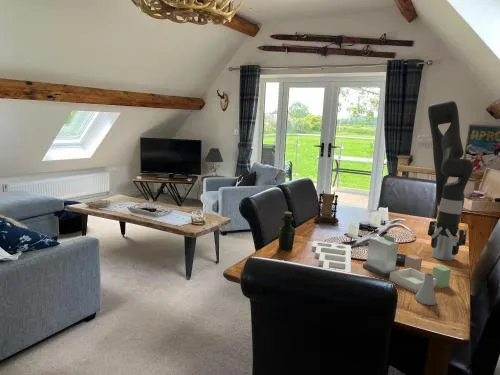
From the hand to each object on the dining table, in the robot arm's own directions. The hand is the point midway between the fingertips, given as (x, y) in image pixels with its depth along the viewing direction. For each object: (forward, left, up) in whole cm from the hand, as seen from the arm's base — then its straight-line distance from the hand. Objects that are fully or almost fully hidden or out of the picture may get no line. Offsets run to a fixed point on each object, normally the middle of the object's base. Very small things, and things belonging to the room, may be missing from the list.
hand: (443, 251), depth 146 cm
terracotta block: (0, -13, -14) cm, 19 cm away
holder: (+26, -35, -15) cm, 46 cm away
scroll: (-17, -89, -14) cm, 92 cm away
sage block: (0, 0, -14) cm, 14 cm away
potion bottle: (+35, -57, -14) cm, 68 cm away
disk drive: (-4, -25, -15) cm, 30 cm away
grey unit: (+11, -19, -14) cm, 26 cm away
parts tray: (+10, -5, -14) cm, 18 cm away
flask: (+18, +7, -14) cm, 24 cm away
